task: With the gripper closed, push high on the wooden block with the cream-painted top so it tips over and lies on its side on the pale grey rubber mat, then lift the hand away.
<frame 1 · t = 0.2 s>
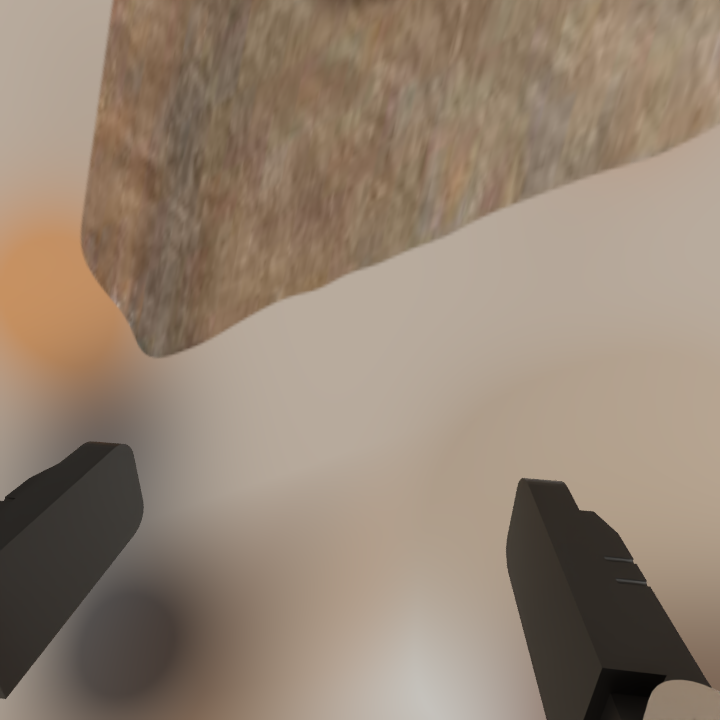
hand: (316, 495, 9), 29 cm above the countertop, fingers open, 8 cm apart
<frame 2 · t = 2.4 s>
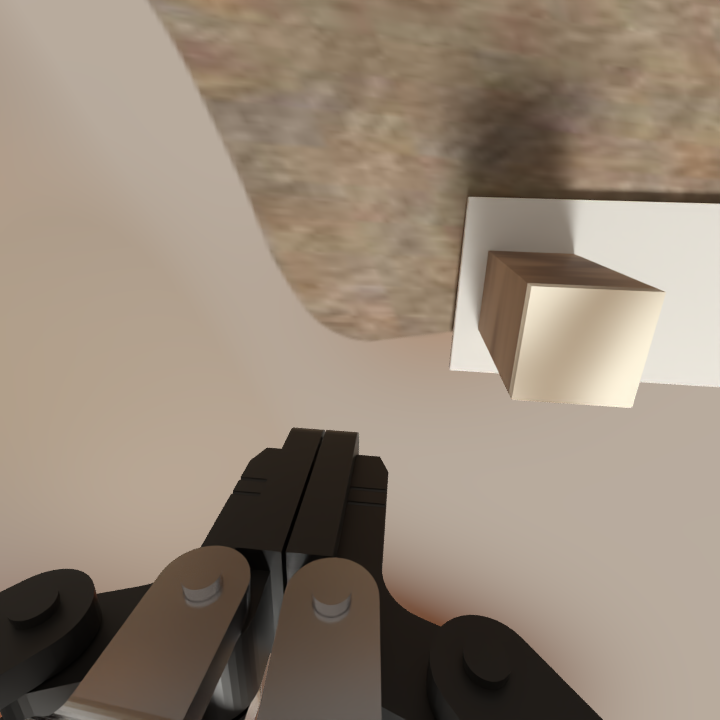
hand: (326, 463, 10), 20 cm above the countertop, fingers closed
mat: (603, 294, 27), on the countertop
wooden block: (524, 293, 27), point 1 cm above the countertop, touching mat
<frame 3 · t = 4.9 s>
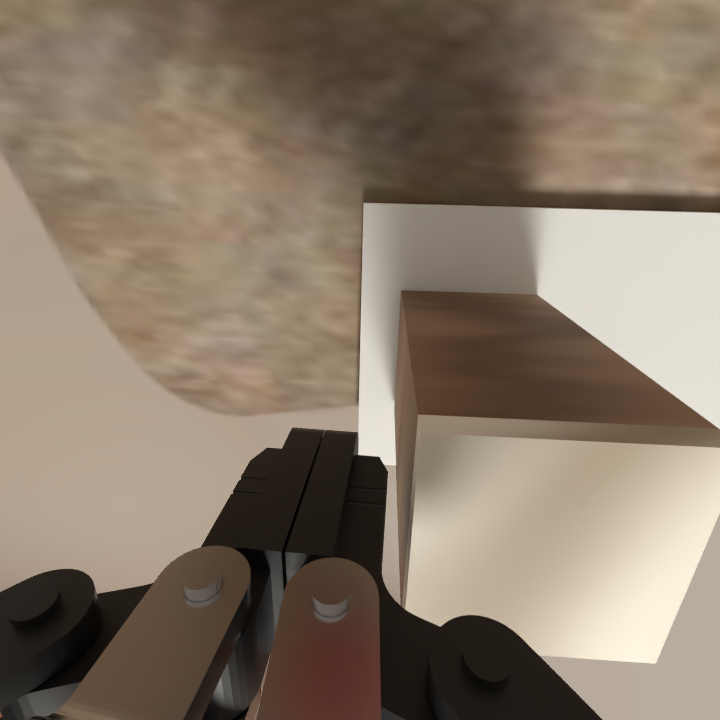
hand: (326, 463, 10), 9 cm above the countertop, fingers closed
mat: (587, 356, 17), on the countertop
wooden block: (461, 355, 17), point 1 cm above the countertop, touching gripper, mat
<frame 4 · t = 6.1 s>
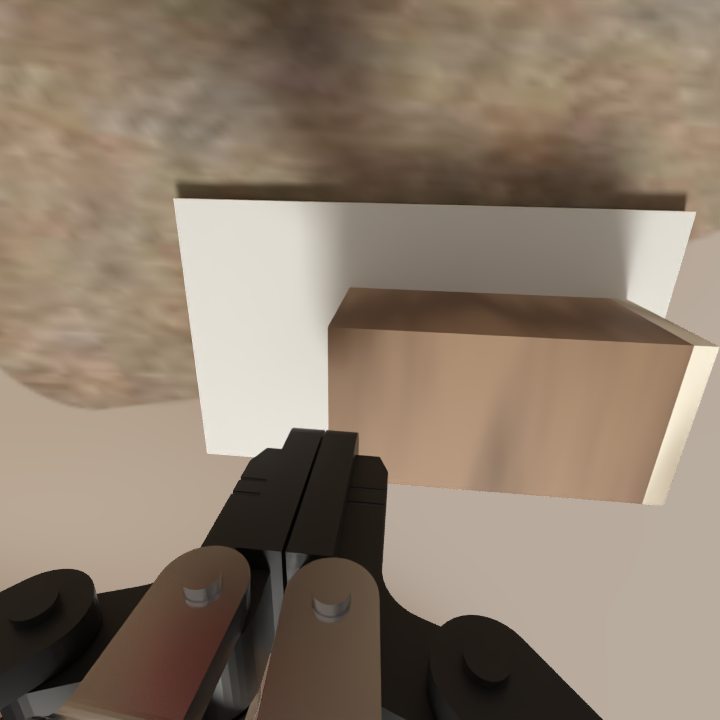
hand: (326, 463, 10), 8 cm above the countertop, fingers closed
mat: (411, 347, 18), on the countertop
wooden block: (340, 374, 15), point 3 cm above the countertop, tilted 90°, touching mat
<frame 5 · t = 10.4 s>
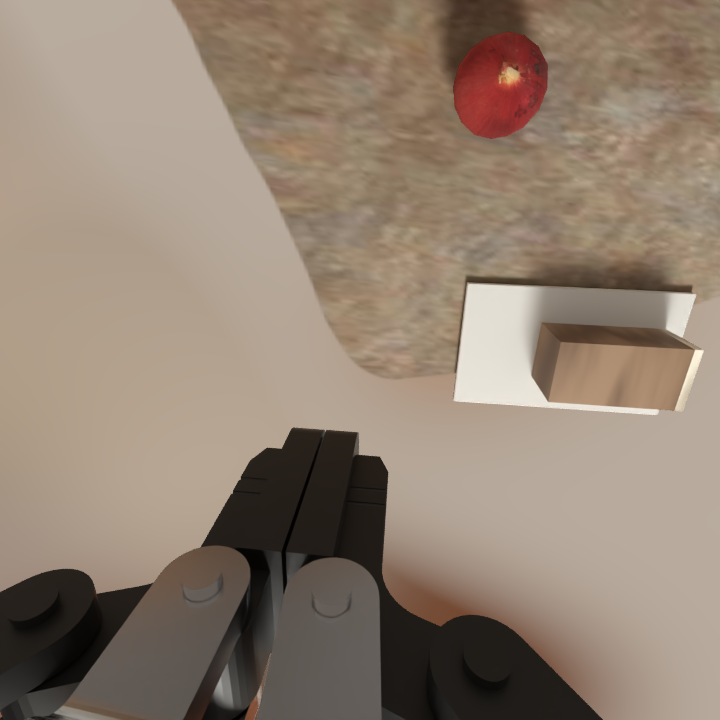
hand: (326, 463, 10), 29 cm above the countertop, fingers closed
onion: (488, 99, 32), on the countertop
mat: (563, 349, 38), on the countertop
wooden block: (544, 360, 35), point 3 cm above the countertop, tilted 90°, touching mat
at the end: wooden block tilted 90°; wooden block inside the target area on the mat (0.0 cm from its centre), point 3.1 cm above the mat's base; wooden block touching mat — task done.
